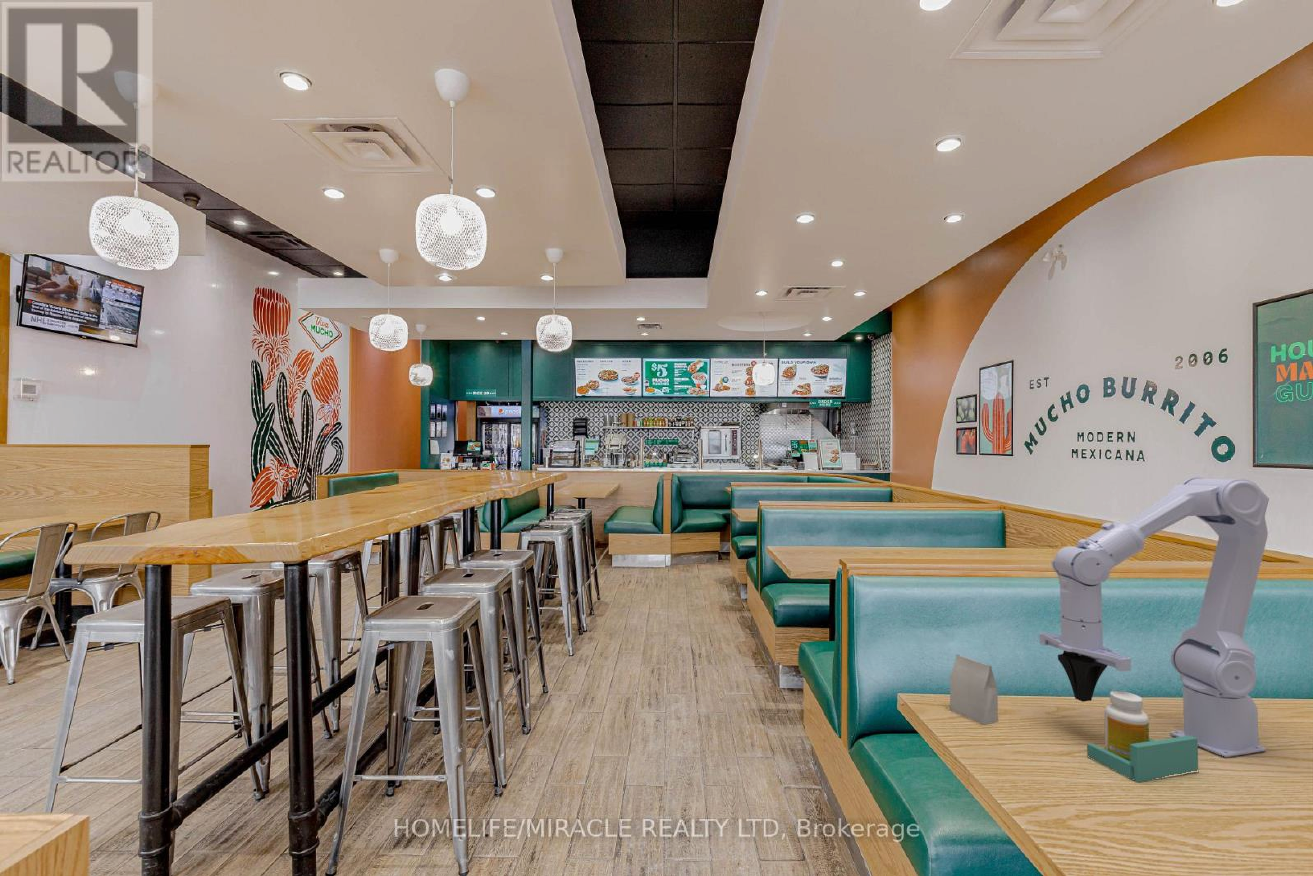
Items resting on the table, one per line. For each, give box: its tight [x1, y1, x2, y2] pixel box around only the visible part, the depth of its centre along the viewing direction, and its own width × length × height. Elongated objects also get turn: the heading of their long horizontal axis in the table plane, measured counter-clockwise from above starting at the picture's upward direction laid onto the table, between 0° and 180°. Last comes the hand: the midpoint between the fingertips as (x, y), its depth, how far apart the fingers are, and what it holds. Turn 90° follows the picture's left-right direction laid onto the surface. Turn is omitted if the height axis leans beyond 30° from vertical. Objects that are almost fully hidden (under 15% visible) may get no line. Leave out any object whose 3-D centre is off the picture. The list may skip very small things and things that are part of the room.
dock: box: [1086, 736, 1199, 783], centre depth 89 cm, size 12×8×5 cm, turn 105°
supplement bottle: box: [1104, 690, 1150, 761], centre depth 90 cm, size 5×5×10 cm
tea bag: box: [949, 654, 999, 726], centre depth 105 cm, size 4×7×10 cm, turn 25°
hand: (1083, 699), depth 98 cm, fingers closed
